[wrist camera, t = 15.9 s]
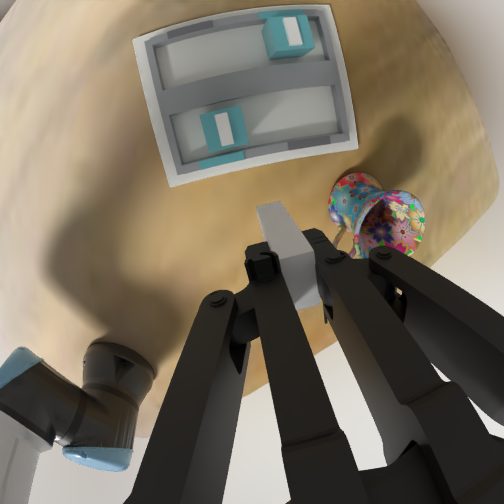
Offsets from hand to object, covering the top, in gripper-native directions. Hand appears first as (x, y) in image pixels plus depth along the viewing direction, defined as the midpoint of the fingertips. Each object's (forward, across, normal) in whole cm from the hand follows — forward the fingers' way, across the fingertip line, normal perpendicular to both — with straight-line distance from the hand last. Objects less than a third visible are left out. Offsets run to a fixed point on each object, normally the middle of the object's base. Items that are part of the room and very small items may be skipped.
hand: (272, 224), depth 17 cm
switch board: (+18, +3, +10) cm, 21 cm away
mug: (+18, +12, -8) cm, 23 cm away
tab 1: (+17, -1, +6) cm, 18 cm away
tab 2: (+17, +8, +15) cm, 23 cm away
